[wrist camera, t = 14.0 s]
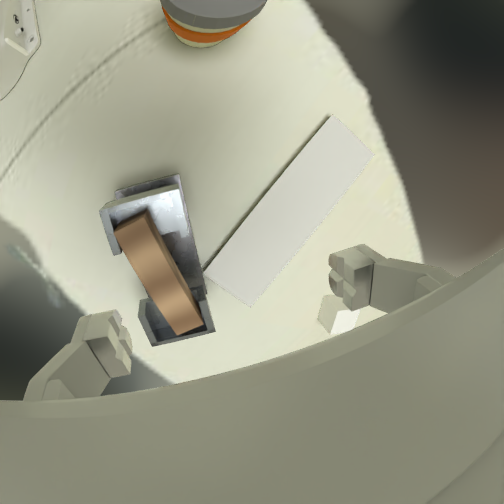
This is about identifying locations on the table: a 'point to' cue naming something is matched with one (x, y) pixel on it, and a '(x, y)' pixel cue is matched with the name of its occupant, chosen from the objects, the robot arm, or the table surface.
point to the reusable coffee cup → (208, 19)
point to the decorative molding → (290, 212)
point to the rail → (158, 271)
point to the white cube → (336, 315)
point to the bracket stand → (176, 240)
